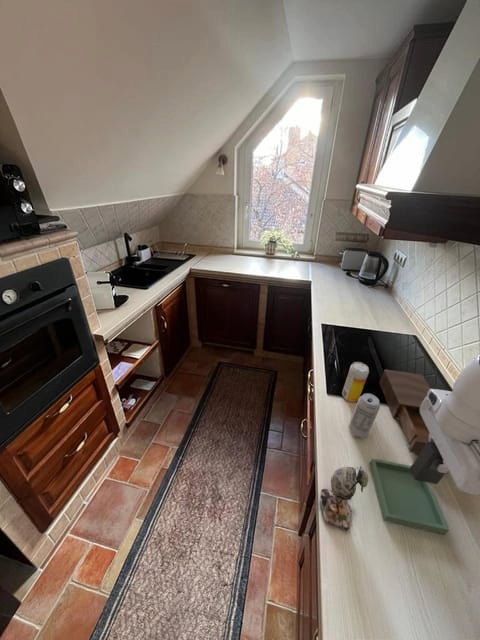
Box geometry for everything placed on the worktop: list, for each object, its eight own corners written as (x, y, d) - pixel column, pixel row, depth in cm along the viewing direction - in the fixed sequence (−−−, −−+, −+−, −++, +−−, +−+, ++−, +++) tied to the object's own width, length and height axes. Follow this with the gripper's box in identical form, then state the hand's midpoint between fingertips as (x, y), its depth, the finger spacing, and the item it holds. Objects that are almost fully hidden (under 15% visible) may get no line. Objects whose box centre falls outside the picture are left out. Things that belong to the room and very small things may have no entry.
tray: (419, 472, 73) (422, 468, 71) (444, 534, 60) (448, 530, 59) (369, 463, 75) (371, 458, 73) (383, 520, 62) (386, 516, 61)
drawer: (462, 474, 72) (471, 464, 69) (414, 465, 73) (422, 455, 71) (430, 415, 89) (436, 404, 86) (392, 408, 91) (397, 398, 88)
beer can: (362, 400, 95) (373, 370, 88) (349, 405, 93) (360, 374, 86) (350, 389, 100) (360, 359, 92) (338, 393, 98) (347, 363, 90)
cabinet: (435, 424, 87) (444, 410, 83) (392, 417, 89) (399, 403, 85) (415, 387, 102) (422, 374, 98) (379, 382, 104) (384, 369, 100)
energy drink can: (371, 432, 84) (385, 400, 76) (361, 442, 80) (375, 410, 73) (354, 420, 88) (366, 388, 80) (344, 429, 84) (356, 398, 77)
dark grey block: (431, 472, 64) (451, 445, 58) (437, 485, 61) (458, 458, 56) (410, 467, 65) (427, 441, 59) (414, 480, 62) (433, 454, 56)
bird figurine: (355, 492, 68) (377, 447, 58) (348, 537, 59) (373, 494, 49) (324, 476, 71) (340, 431, 61) (313, 517, 63) (330, 473, 52)
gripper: (518, 475, 43) (477, 513, 50) (455, 388, 60) (431, 425, 67) (476, 467, 44) (441, 505, 51) (426, 383, 61) (405, 421, 68)
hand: (435, 459), depth 59 cm, fingers closed on dark grey block, 3 cm apart
